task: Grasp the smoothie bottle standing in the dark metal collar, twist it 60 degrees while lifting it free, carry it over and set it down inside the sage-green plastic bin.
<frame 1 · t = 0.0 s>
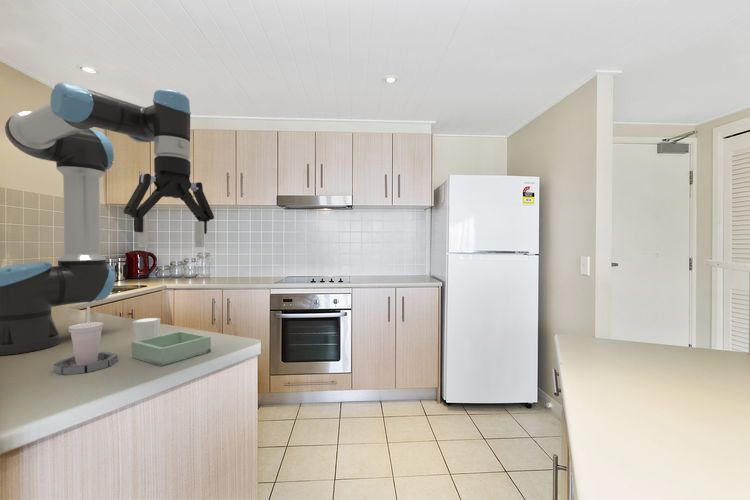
hand: (173, 247, 84), 28 cm above the countertop, fingers open, 13 cm apart
smoothie: (86, 366, 83), resting in collar
collar: (86, 365, 83), on the countertop
bin: (172, 354, 91), on the countertop
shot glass: (147, 344, 101), on the countertop
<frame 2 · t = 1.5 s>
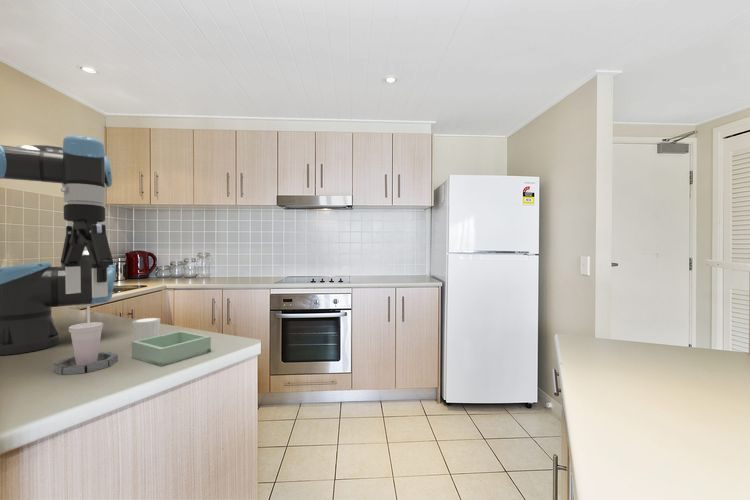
hand: (86, 295, 82), 17 cm above the countertop, fingers open, 13 cm apart
nothing on the countertop moved.
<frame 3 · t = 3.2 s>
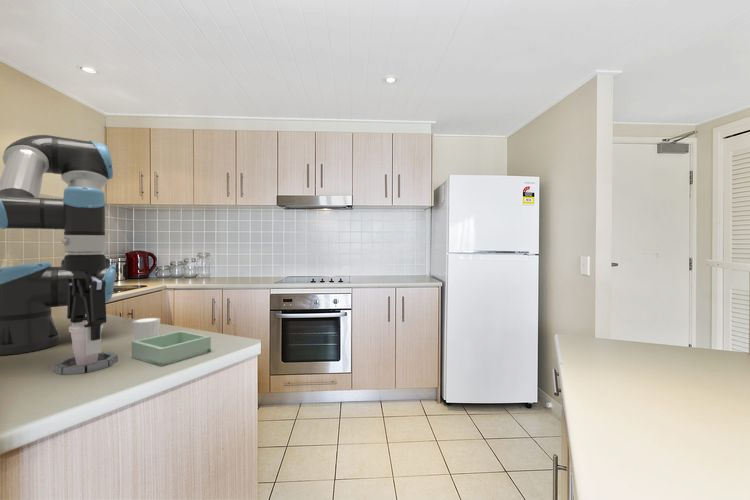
hand: (86, 351, 83), 3 cm above the countertop, fingers closed on smoothie, 6 cm apart
smoothie: (86, 366, 83), resting in collar, touching gripper
everything else where it was.
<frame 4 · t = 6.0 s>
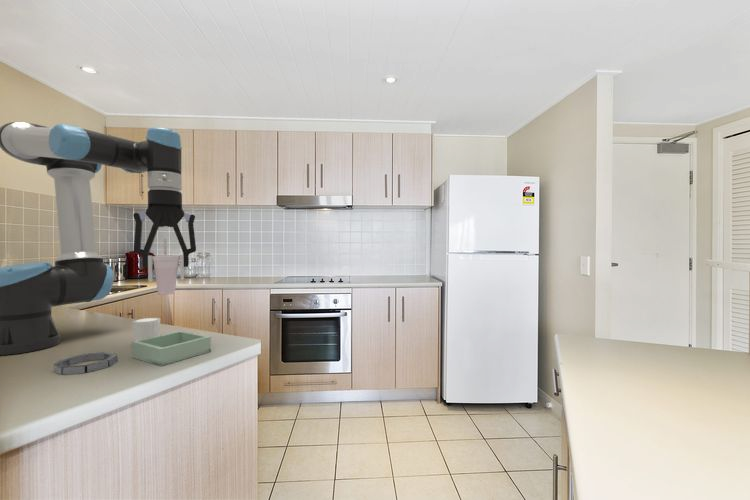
hand: (166, 280, 90), 19 cm above the countertop, fingers closed on smoothie, 6 cm apart
smoothie: (166, 294, 90), point 16 cm above the countertop, touching gripper
everything else where it was.
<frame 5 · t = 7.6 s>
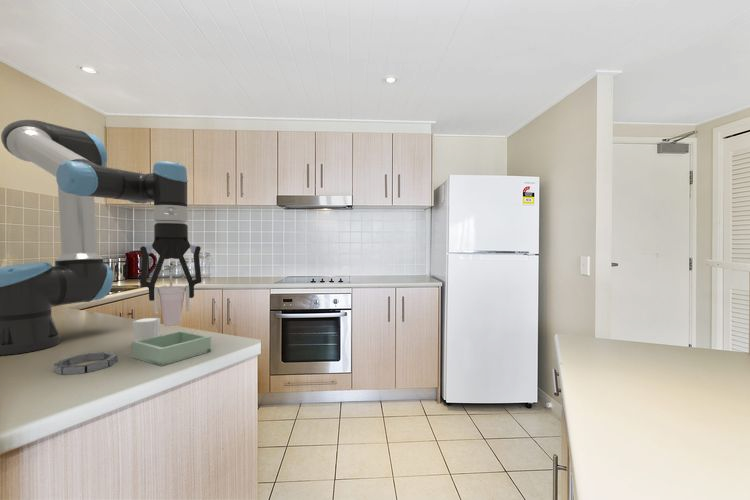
hand: (172, 311, 91), 11 cm above the countertop, fingers closed on smoothie, 6 cm apart
smoothie: (172, 325, 91), point 8 cm above the countertop, touching gripper
everything else where it was.
when the fingers open (5 cm above the countertop, at t = 9.0 s): smoothie drops 1 cm, resting on bin.
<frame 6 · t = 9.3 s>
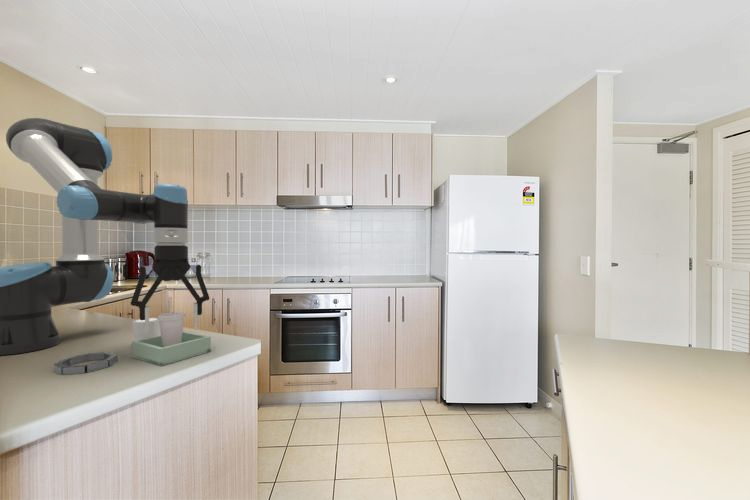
hand: (172, 329, 91), 6 cm above the countertop, fingers open, 10 cm apart
smoothie: (172, 352, 91), point 1 cm above the countertop, touching bin
everything else where it was.
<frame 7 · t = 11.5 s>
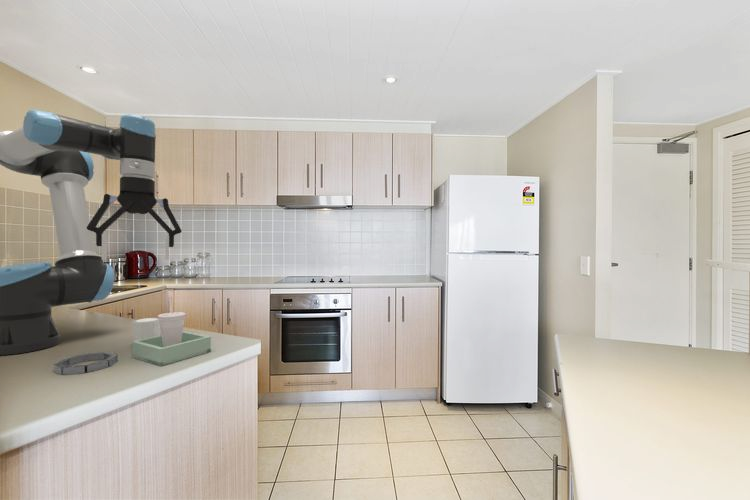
hand: (136, 259, 92), 25 cm above the countertop, fingers open, 13 cm apart
nothing on the countertop moved.
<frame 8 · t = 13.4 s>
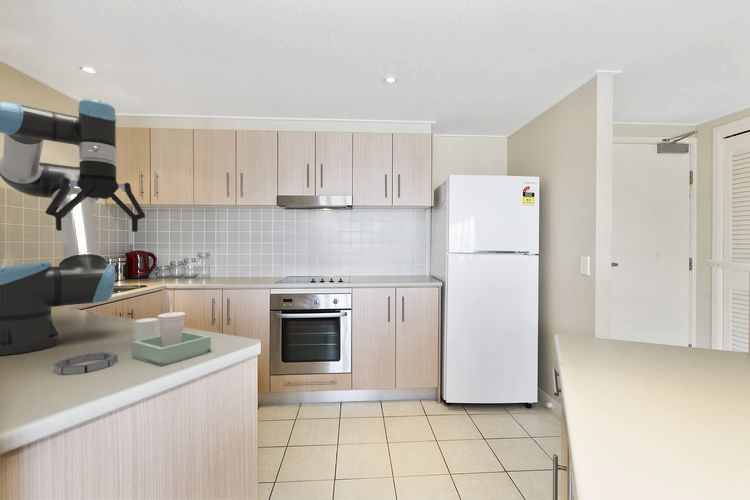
hand: (99, 244, 91), 29 cm above the countertop, fingers open, 13 cm apart
nothing on the countertop moved.
at the end: smoothie inside the target area on the bin (0.0 cm from its centre), point 0.6 cm above the bin's base; smoothie tilted 0°; the gripper is holding nothing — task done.
